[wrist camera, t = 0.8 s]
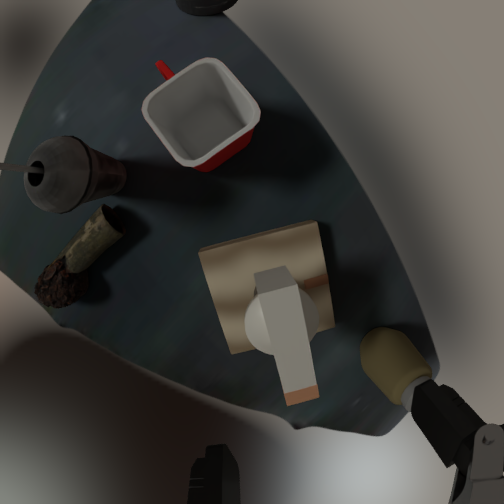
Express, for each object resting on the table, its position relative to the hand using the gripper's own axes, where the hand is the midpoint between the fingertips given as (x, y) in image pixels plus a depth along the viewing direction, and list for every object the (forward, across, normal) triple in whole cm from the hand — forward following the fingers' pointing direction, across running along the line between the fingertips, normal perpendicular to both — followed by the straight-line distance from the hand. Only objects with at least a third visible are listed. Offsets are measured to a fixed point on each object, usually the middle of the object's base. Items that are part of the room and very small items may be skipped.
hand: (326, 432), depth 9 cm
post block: (+26, 0, +3) cm, 26 cm away
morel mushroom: (+27, +24, -6) cm, 37 cm away
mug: (+26, +3, -19) cm, 33 cm away
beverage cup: (+26, +16, -16) cm, 35 cm away
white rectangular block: (+17, 0, +3) cm, 17 cm away
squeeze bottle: (+26, -14, +17) cm, 34 cm away
